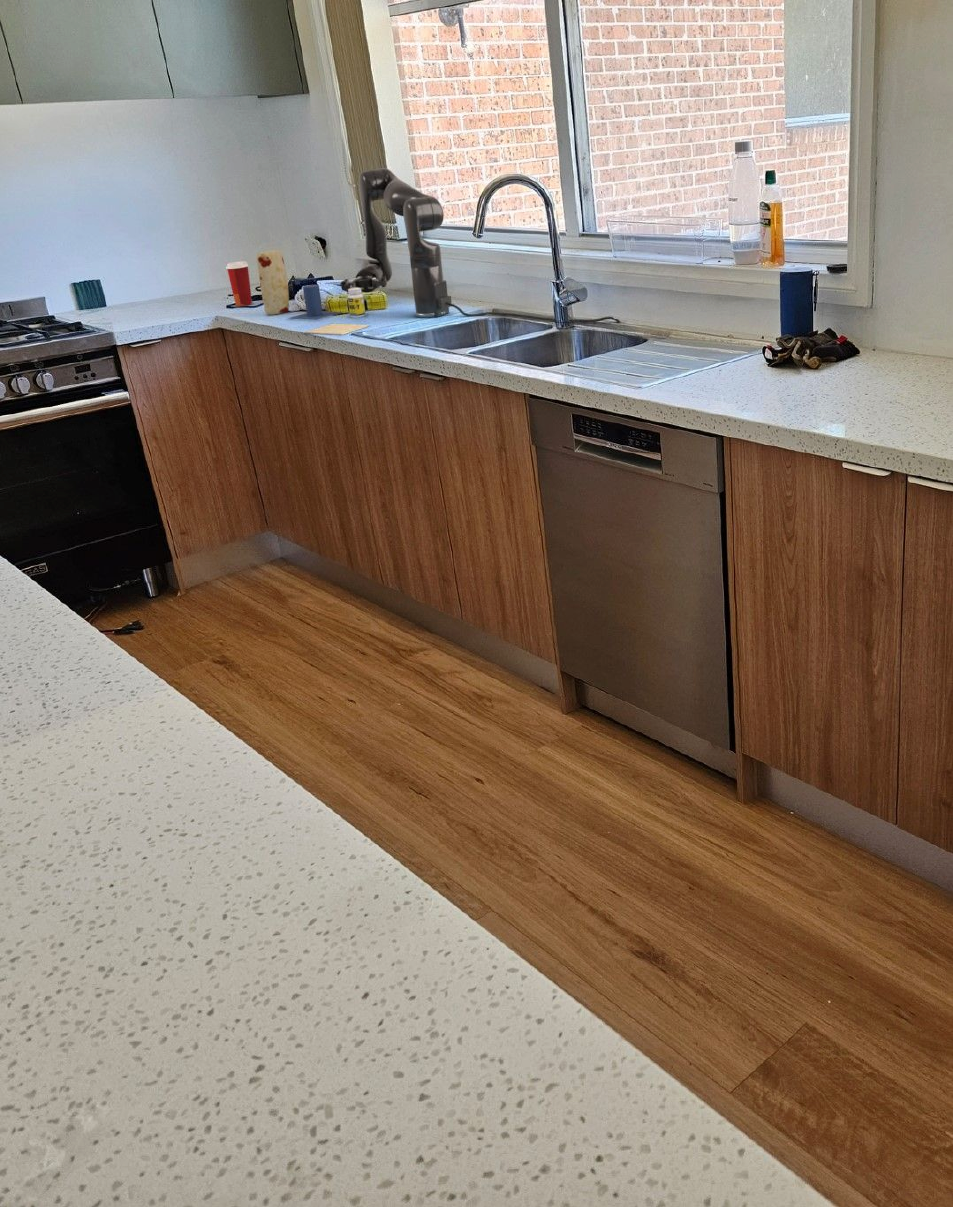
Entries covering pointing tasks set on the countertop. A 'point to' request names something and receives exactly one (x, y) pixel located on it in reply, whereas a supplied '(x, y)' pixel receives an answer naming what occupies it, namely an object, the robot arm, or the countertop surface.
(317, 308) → the blue rectangular block
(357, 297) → the supplement bottle
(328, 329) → the cream mat
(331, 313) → the blue mat
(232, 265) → the paper cup
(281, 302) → the food model
